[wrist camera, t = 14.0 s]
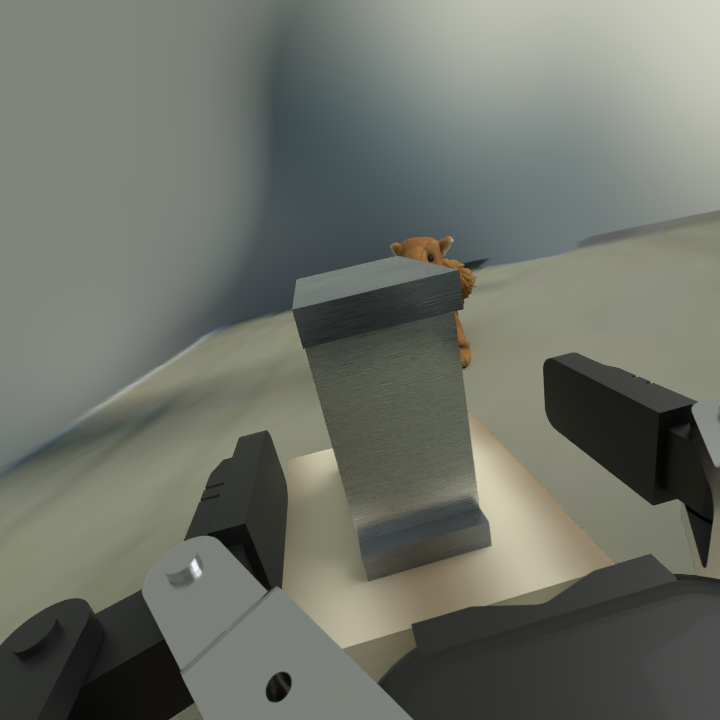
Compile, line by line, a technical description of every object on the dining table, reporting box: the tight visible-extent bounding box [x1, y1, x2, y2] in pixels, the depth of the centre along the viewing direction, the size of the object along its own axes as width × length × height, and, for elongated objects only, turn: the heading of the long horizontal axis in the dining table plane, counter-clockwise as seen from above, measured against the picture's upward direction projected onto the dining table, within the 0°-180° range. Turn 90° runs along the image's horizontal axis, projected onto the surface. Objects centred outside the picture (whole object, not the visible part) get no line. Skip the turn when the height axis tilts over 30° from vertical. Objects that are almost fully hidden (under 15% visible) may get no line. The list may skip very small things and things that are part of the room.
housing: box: [292, 256, 492, 582], centre depth 16 cm, size 5×8×11 cm, turn 8°
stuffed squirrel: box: [391, 236, 476, 368], centre depth 42 cm, size 10×14×13 cm
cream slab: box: [282, 412, 615, 683], centre depth 19 cm, size 12×12×3 cm
